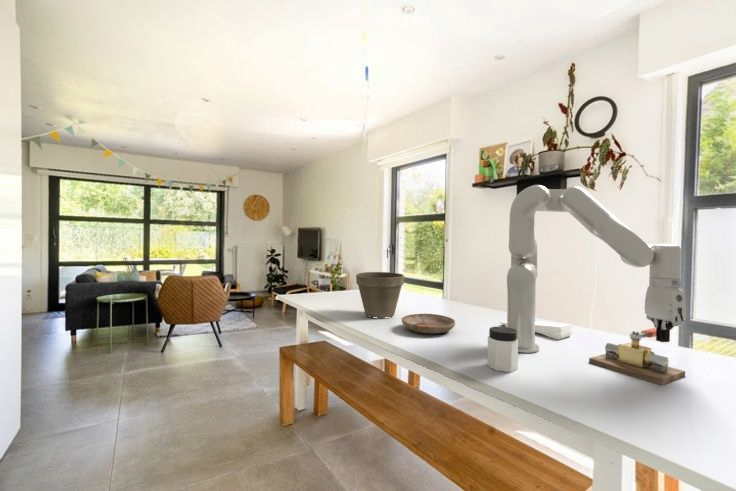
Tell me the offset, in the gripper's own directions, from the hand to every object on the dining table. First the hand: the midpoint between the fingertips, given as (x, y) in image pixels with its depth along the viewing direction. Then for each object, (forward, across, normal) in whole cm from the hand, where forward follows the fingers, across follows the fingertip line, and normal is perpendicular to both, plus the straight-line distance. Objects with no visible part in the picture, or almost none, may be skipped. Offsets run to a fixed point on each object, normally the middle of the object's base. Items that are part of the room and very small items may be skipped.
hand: (662, 341), depth 113 cm
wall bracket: (+9, +46, +14) cm, 49 cm away
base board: (+8, 0, +10) cm, 13 cm away
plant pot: (+9, +83, +76) cm, 113 cm away
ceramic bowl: (+9, +53, +60) cm, 81 cm away
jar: (+9, +7, +50) cm, 51 cm away
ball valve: (+7, 0, +10) cm, 12 cm away
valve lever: (-1, +2, +4) cm, 4 cm away
